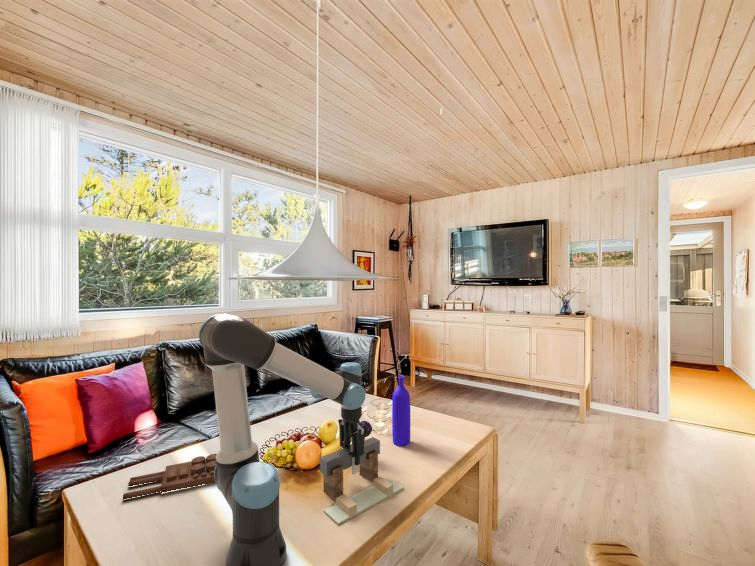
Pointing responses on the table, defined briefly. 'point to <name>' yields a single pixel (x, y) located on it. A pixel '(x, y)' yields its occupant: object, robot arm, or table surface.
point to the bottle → (401, 415)
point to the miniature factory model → (177, 476)
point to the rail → (347, 456)
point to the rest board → (362, 500)
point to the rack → (335, 481)
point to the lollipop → (366, 428)
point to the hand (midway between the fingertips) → (351, 470)
